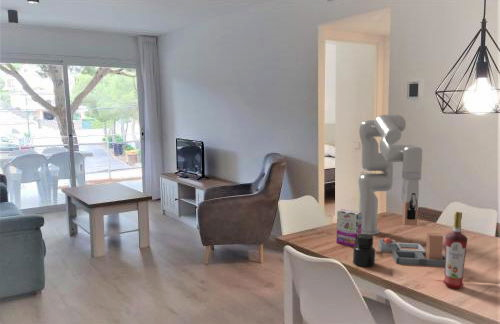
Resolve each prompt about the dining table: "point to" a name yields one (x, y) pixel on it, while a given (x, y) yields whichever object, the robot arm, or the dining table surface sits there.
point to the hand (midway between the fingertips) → (409, 217)
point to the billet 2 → (434, 246)
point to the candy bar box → (348, 227)
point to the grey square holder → (387, 246)
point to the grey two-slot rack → (416, 258)
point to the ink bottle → (364, 251)
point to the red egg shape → (387, 240)
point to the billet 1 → (404, 215)
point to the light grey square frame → (410, 246)
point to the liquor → (455, 254)
